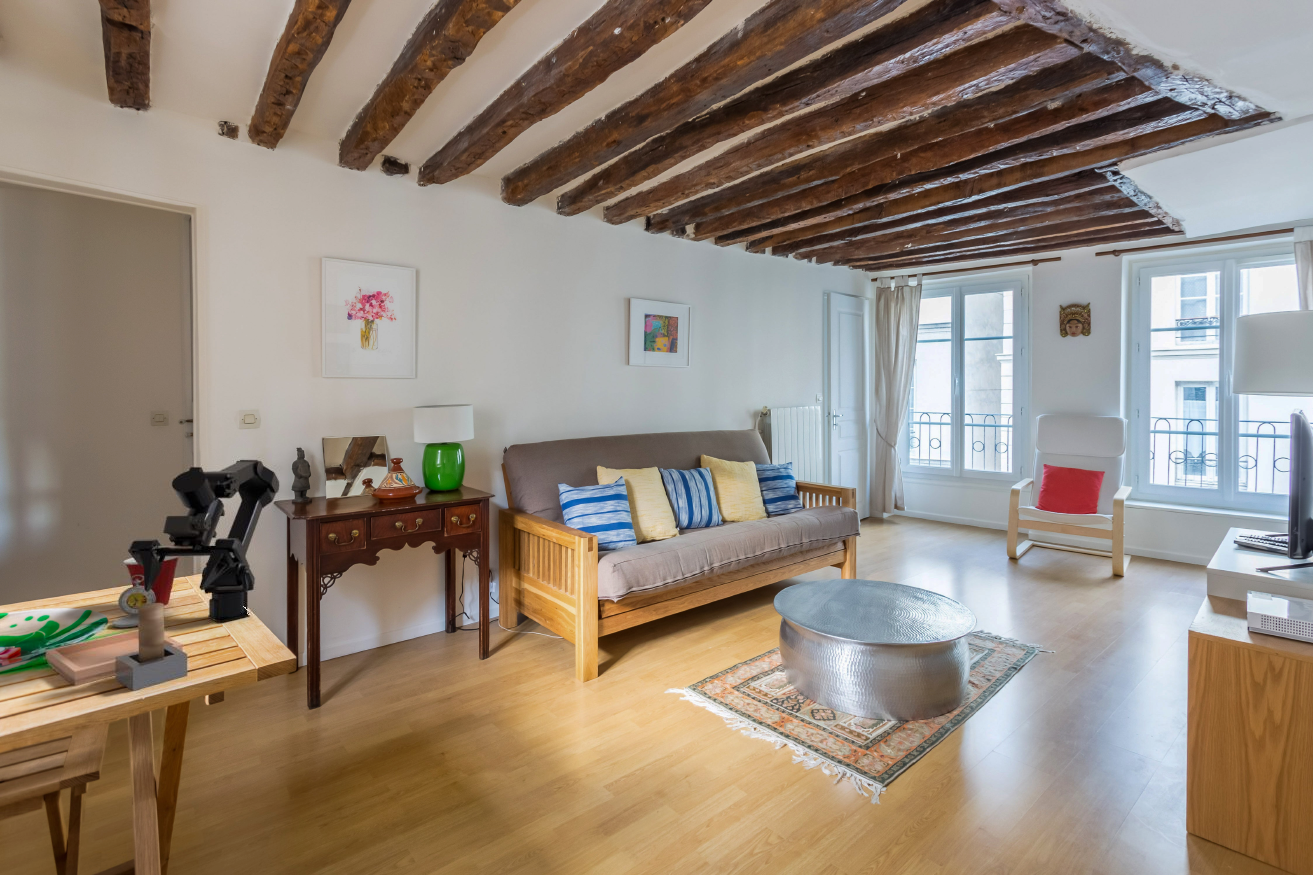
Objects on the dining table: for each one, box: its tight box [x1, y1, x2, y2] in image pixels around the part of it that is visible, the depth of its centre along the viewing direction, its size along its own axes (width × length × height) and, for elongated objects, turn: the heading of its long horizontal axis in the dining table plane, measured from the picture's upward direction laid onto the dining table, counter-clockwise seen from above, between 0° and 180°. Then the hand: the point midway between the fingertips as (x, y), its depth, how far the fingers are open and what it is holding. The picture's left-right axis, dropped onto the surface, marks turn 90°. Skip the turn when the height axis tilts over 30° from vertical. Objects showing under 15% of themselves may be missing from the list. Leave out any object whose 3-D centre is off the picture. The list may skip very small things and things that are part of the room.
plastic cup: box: [123, 556, 180, 606], centre depth 154 cm, size 11×11×12 cm
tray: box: [45, 629, 184, 687], centre depth 122 cm, size 16×16×2 cm
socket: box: [115, 644, 188, 692], centre depth 115 cm, size 8×8×4 cm
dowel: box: [137, 603, 165, 663], centre depth 115 cm, size 4×4×13 cm
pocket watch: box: [112, 575, 156, 628], centre depth 142 cm, size 8×8×10 cm
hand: (174, 589), depth 122 cm, fingers open, 9 cm apart
